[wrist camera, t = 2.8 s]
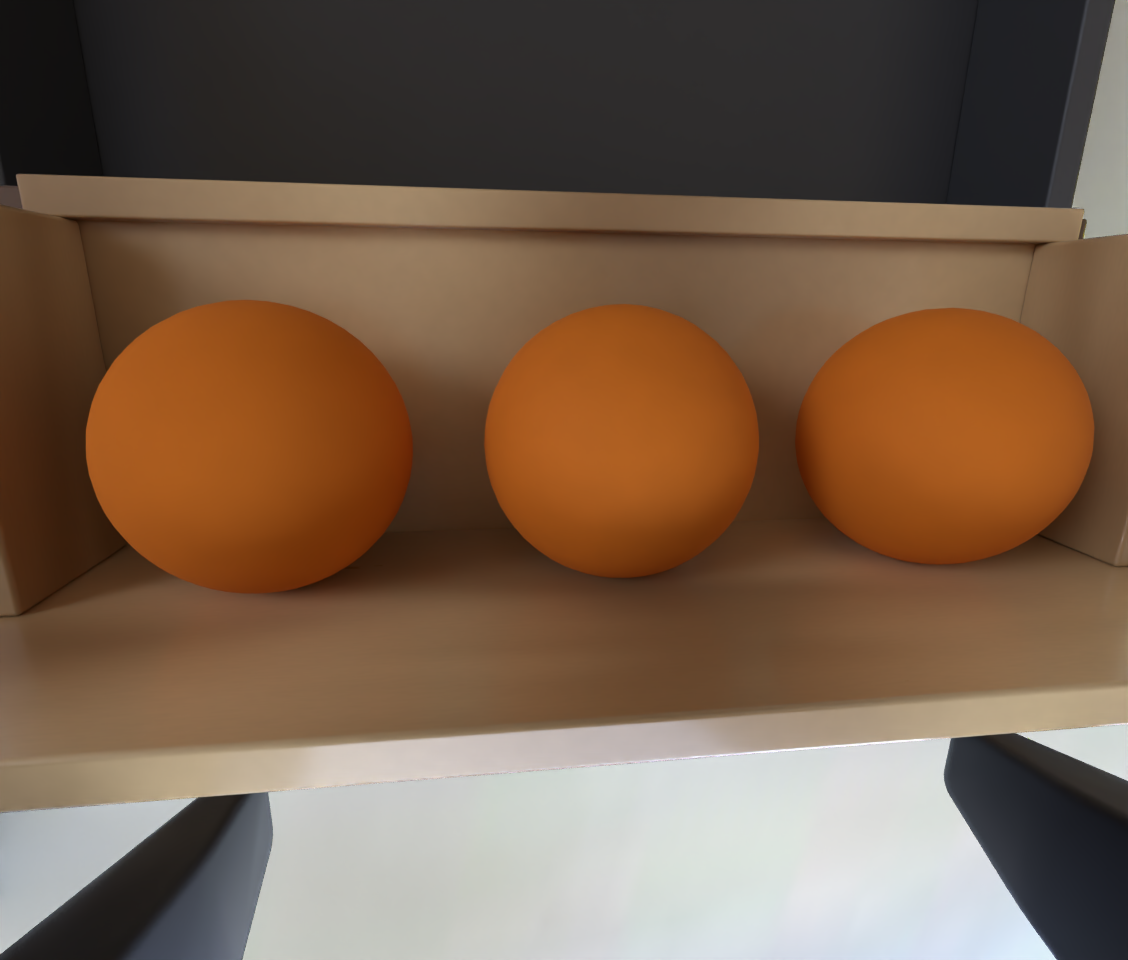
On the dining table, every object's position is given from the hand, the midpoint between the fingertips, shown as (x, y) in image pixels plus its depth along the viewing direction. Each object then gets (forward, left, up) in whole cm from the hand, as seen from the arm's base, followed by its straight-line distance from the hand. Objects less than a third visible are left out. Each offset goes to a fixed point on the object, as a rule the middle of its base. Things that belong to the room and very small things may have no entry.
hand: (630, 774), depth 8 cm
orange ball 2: (0, +4, -1) cm, 4 cm away
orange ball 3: (+4, +4, -1) cm, 6 cm away
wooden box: (0, +5, -3) cm, 6 cm away
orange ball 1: (-4, +4, -1) cm, 6 cm away
